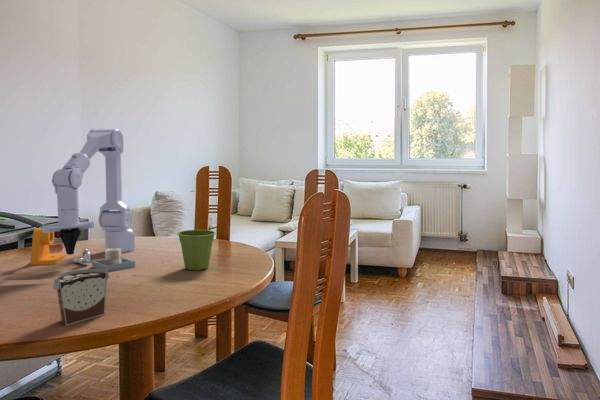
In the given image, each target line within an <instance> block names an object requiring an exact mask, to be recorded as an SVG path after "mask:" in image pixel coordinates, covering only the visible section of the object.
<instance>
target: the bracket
mask: <svg viewBox="0 0 600 400" xmlns="http://www.w3.org/2000/svg"><path fill="white" fill-rule="evenodd" d="M54 242H55V232H49V233H43V230H42V228H41V227H38V228H37V227H36V228H34V229H33V232H32V242H31V250H30V251H31V254H30V266H43V265H44V266H46V265H57V264H58V263H60V262H61V261H63V260H65V259H66V258H67V257H66V256H67V254H66V253H51V250H50V246H52V245H53V244H54Z"/></svg>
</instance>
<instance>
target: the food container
mask: <svg viewBox="0 0 600 400" xmlns="http://www.w3.org/2000/svg"><path fill="white" fill-rule="evenodd" d="M108 279H110V274H109V272H107V270H105V269H96V268H86V269H85V268H84V269H76V270H75V269H74V270H70V271H65V272H62V273H58V274H57V275H56V276H55V278H54V281H53V287H52V288H53V289H54V290H55V291H56V292H57V298H58V305H59V312H60V318H61V324H62V325H63V326H65V327H66V326H71V325H73V324H77V323H81V322H84V321H87V320H88V321H89V320H91V319H95V318H97V317H101V316H104V315H106V304H107V303H106V302H107V301H106V299H107V284H108V283H107V280H108Z"/></svg>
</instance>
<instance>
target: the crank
mask: <svg viewBox="0 0 600 400" xmlns="http://www.w3.org/2000/svg"><path fill="white" fill-rule="evenodd" d="M90 260H91V251H90V250H89V249H86V248H83V249H82V252H81V257H74V258H72V262H73V263H74V264H76V263H77V264H81V265H84V266H85V265H89V263H90V262H91V261H90Z"/></svg>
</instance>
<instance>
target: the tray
mask: <svg viewBox="0 0 600 400" xmlns="http://www.w3.org/2000/svg"><path fill="white" fill-rule="evenodd" d="M121 259H122V263H118V264H111V265H105V259H101V260H94V261H91V263H92V264H91V267H92V268H93V269H105V270H107V272H108V273H110V272H113V271H119V270H125V269H131V268H136V261H135V260H132V259H129V258H126V257H122V256H121Z"/></svg>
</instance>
